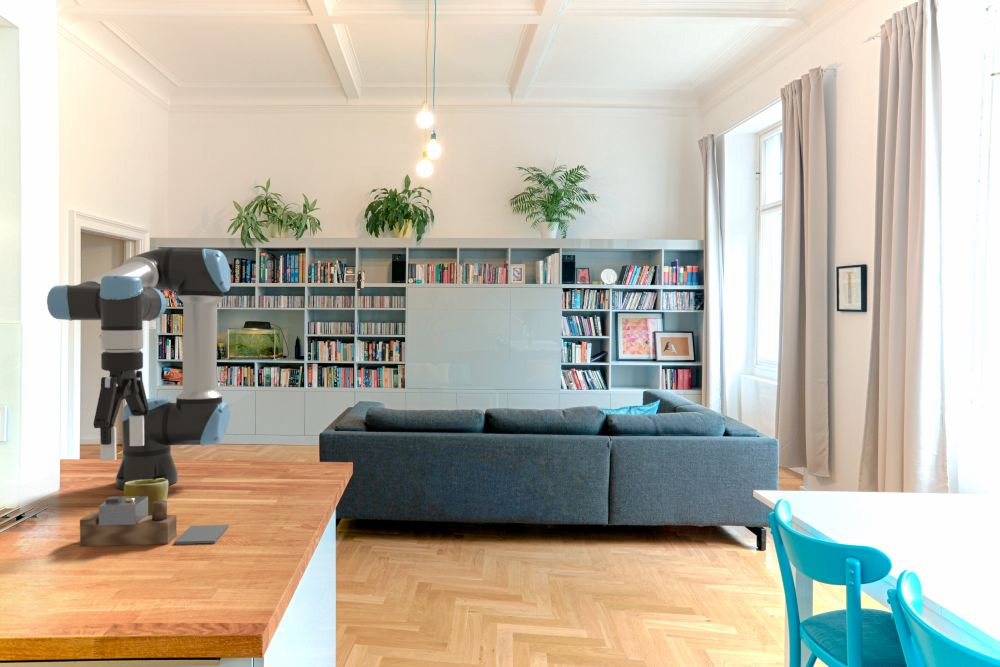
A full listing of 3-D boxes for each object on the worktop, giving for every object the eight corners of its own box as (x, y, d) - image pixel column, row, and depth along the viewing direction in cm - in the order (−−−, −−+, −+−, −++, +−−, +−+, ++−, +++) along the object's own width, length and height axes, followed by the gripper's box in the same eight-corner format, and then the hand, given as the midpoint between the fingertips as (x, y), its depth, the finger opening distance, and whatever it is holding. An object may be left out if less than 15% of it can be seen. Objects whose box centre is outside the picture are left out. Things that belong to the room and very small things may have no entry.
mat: (190, 528, 148) (190, 525, 148) (228, 527, 149) (228, 524, 149) (174, 544, 138) (174, 541, 138) (214, 543, 139) (214, 540, 139)
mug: (151, 516, 150) (146, 472, 152) (114, 527, 152) (109, 483, 154) (190, 511, 162) (184, 470, 164) (154, 521, 164) (149, 480, 166)
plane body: (80, 546, 137) (79, 507, 136) (92, 537, 142) (91, 500, 141) (167, 543, 139) (167, 505, 138) (176, 535, 144) (176, 498, 143)
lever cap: (99, 525, 136) (98, 502, 136) (113, 515, 143) (113, 493, 142) (135, 524, 137) (135, 501, 137) (148, 514, 143) (148, 492, 143)
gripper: (128, 346, 150) (129, 440, 151) (71, 355, 125) (73, 467, 126) (164, 346, 151) (164, 440, 152) (114, 355, 126) (115, 466, 127)
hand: (123, 452), depth 139 cm, fingers open, 13 cm apart
